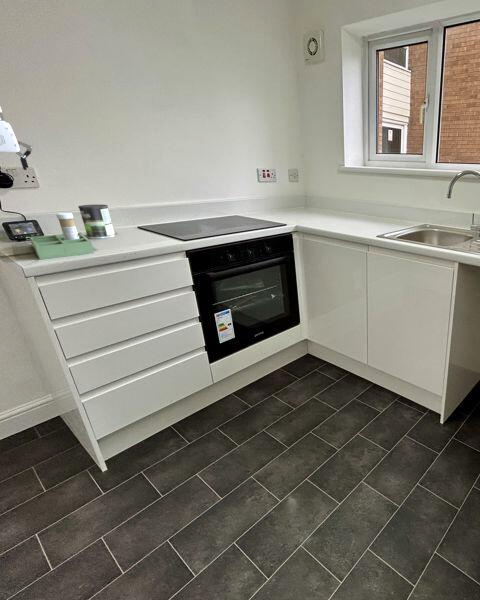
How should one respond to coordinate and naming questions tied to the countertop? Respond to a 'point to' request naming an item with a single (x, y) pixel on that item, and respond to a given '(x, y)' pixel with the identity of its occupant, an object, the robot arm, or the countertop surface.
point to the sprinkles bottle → (68, 226)
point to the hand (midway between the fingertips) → (6, 169)
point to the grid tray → (60, 246)
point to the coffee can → (97, 221)
